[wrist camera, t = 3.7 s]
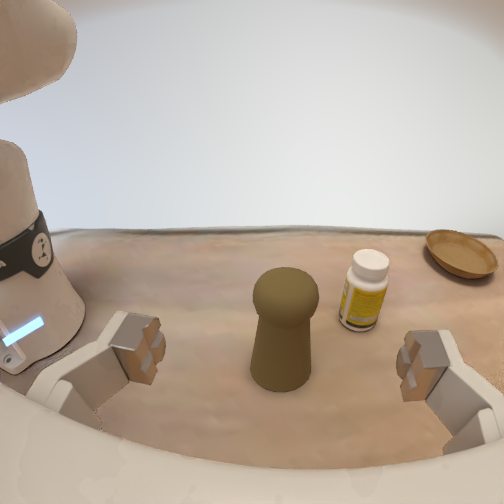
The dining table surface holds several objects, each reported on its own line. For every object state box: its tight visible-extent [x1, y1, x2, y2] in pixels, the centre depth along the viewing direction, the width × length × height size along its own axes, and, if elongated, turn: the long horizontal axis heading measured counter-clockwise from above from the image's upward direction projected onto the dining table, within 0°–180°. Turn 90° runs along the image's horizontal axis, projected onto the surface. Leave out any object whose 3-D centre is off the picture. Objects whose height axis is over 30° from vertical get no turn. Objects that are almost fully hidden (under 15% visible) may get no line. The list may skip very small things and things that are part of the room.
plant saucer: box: [426, 230, 498, 279], centre depth 42 cm, size 15×15×3 cm
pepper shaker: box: [250, 267, 319, 392], centre depth 25 cm, size 6×6×11 cm
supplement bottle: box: [339, 249, 390, 331], centre depth 32 cm, size 5×5×8 cm
